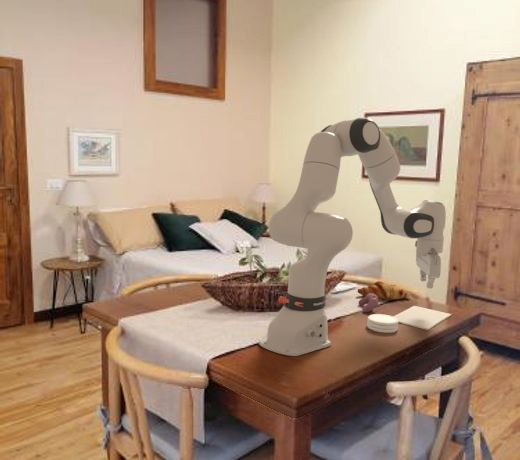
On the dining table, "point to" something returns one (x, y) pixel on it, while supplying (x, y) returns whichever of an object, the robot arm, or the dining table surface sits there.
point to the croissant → (384, 291)
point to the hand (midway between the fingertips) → (426, 284)
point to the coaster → (382, 323)
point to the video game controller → (369, 302)
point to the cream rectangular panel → (421, 317)
